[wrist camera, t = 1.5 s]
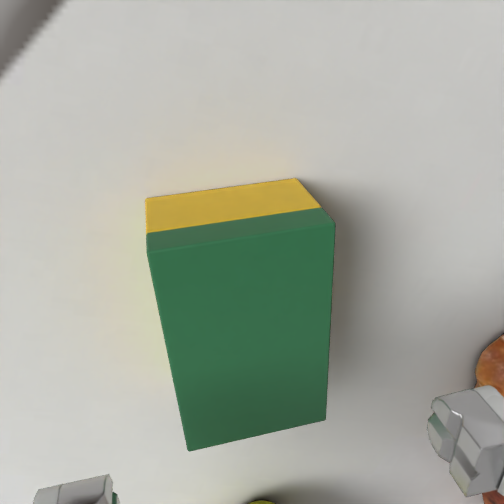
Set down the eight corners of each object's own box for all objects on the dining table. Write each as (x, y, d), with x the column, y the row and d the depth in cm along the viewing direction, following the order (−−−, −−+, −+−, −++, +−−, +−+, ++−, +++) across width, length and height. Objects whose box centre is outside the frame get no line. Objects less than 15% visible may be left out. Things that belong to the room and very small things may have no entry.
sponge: (144, 197, 14) (146, 252, 11) (296, 177, 15) (336, 222, 12) (179, 377, 18) (187, 453, 15) (296, 354, 19) (326, 420, 16)
